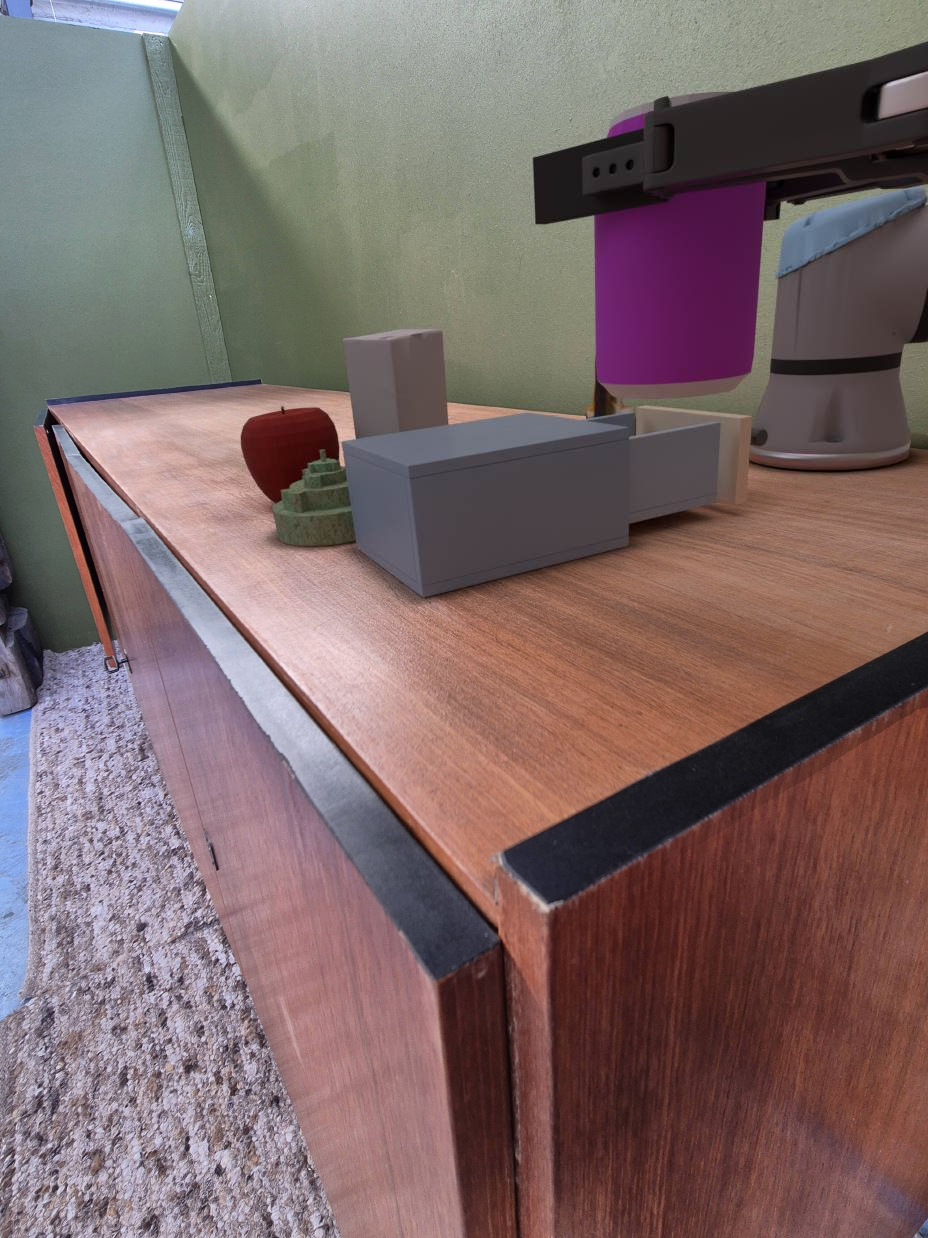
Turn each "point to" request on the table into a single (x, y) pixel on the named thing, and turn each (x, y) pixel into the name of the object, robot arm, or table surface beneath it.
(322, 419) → the apple
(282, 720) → the table surface
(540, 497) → the cabinet
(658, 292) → the beverage can
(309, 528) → the decorative artifact
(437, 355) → the cosmetic box
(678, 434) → the drawer
